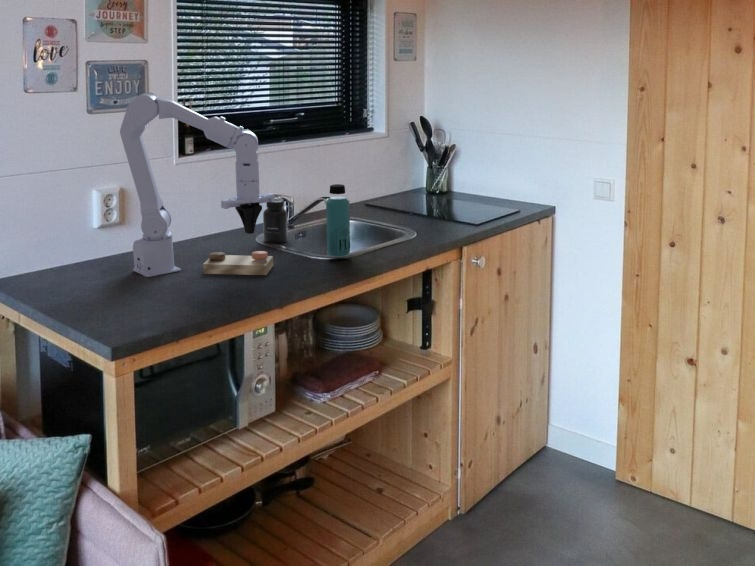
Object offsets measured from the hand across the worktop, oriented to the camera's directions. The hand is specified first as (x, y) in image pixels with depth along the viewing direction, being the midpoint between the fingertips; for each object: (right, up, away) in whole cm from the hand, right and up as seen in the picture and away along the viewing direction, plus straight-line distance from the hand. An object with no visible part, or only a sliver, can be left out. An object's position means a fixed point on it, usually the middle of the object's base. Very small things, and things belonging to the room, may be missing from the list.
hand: (249, 232), depth 217 cm
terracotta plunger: (+3, -9, +1) cm, 9 cm away
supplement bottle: (+3, -1, +30) cm, 30 cm away
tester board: (-3, -9, +1) cm, 10 cm away
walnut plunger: (-8, -9, +2) cm, 12 cm away
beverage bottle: (+22, -6, +12) cm, 26 cm away
